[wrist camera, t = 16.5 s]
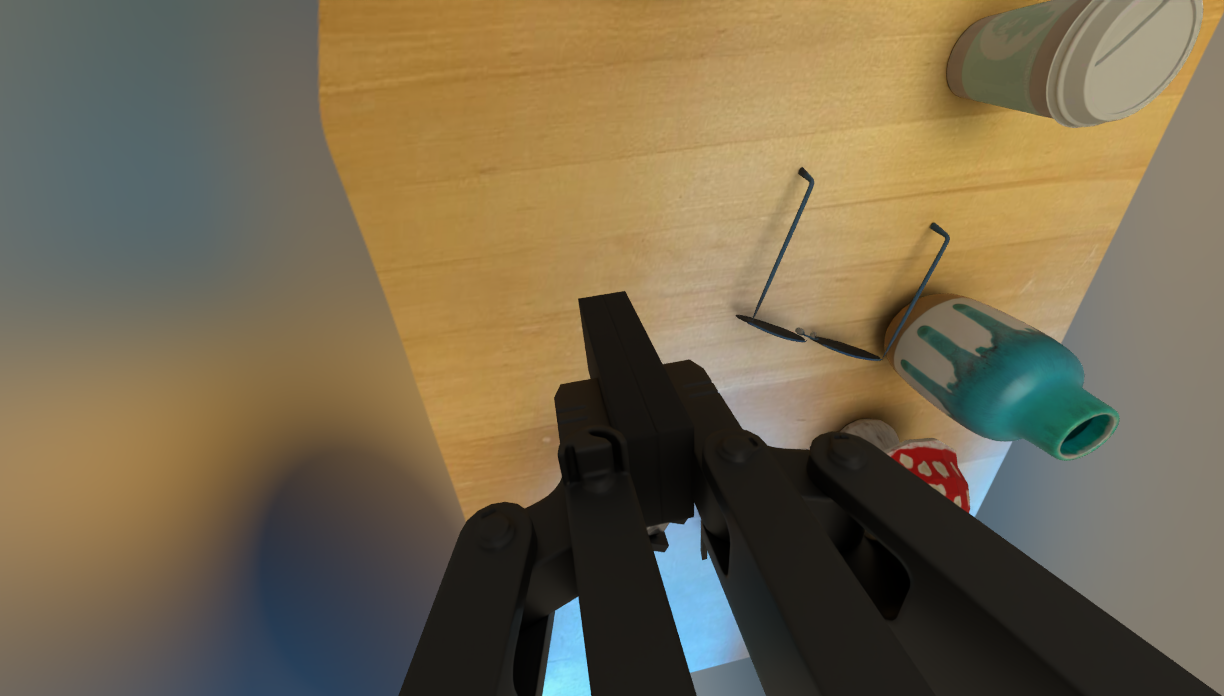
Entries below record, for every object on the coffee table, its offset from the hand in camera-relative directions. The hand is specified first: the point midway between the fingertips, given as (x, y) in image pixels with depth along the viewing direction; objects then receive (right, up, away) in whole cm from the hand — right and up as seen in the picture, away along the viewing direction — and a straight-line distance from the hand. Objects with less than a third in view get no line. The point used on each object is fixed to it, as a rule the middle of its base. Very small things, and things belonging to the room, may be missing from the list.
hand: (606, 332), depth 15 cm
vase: (+34, +2, +37) cm, 51 cm away
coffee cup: (+31, +24, +24) cm, 46 cm away
